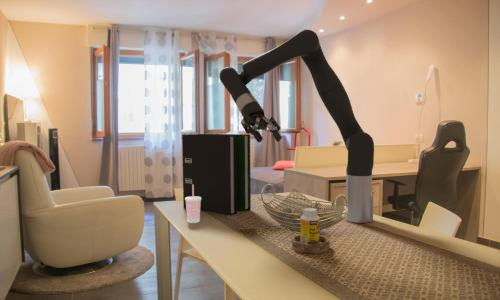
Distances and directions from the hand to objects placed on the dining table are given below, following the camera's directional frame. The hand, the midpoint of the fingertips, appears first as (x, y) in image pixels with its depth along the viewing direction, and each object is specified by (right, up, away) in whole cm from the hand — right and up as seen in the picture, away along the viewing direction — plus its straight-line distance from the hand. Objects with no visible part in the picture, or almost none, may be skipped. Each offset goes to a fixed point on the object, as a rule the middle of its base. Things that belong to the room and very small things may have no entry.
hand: (270, 140), depth 134 cm
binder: (-22, -29, +34) cm, 49 cm away
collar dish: (+11, -32, -20) cm, 39 cm away
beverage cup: (-28, -30, +12) cm, 43 cm away
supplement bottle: (+11, -31, -20) cm, 38 cm away
